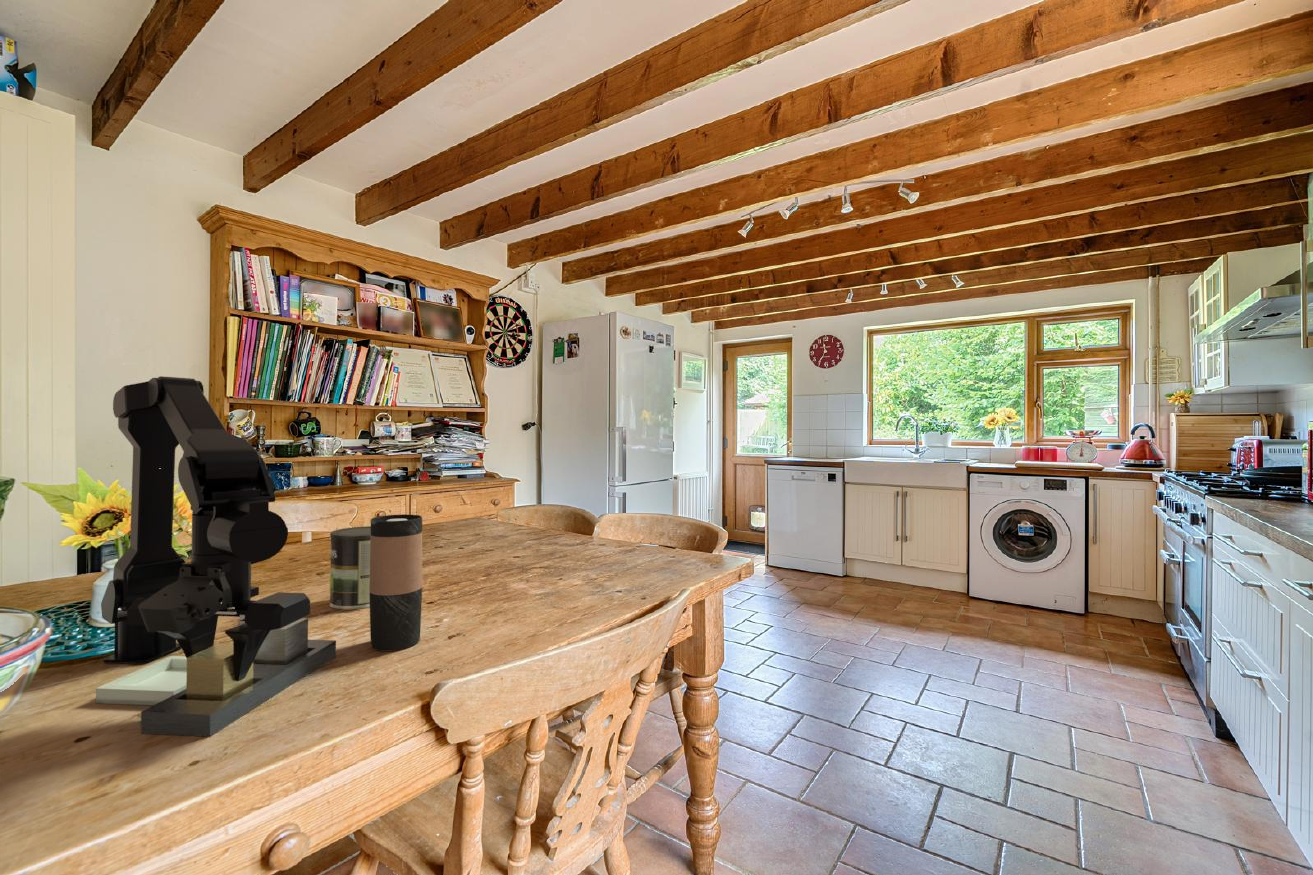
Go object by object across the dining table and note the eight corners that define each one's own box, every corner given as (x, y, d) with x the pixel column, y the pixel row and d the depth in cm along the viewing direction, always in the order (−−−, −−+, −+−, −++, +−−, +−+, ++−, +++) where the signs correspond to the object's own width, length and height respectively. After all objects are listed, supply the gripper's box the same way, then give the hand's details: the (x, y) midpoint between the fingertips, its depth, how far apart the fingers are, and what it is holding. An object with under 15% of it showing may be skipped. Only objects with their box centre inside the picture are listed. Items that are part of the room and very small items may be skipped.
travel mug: (429, 634, 93) (430, 514, 93) (410, 652, 85) (411, 521, 85) (382, 634, 92) (383, 514, 92) (359, 652, 85) (360, 521, 85)
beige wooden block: (186, 717, 65) (186, 657, 65) (218, 698, 70) (218, 643, 70) (222, 718, 65) (223, 659, 65) (252, 700, 69) (253, 644, 69)
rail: (140, 733, 61) (141, 711, 61) (284, 654, 83) (284, 638, 83) (210, 736, 61) (210, 714, 61) (335, 656, 83) (335, 640, 83)
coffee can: (326, 612, 103) (327, 536, 103) (332, 597, 112) (333, 527, 112) (388, 606, 107) (389, 533, 107) (389, 592, 116) (389, 525, 116)
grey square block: (252, 679, 75) (253, 628, 75) (277, 665, 80) (277, 617, 80) (284, 681, 75) (285, 629, 75) (307, 667, 79) (307, 618, 79)
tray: (95, 703, 68) (95, 688, 68) (171, 668, 78) (171, 655, 78) (173, 706, 68) (173, 691, 68) (239, 671, 78) (239, 658, 78)
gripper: (76, 564, 60) (75, 709, 60) (243, 568, 59) (241, 716, 59) (172, 543, 71) (170, 665, 71) (313, 547, 70) (312, 671, 70)
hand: (220, 679), depth 67 cm, fingers closed on beige wooden block, 4 cm apart
